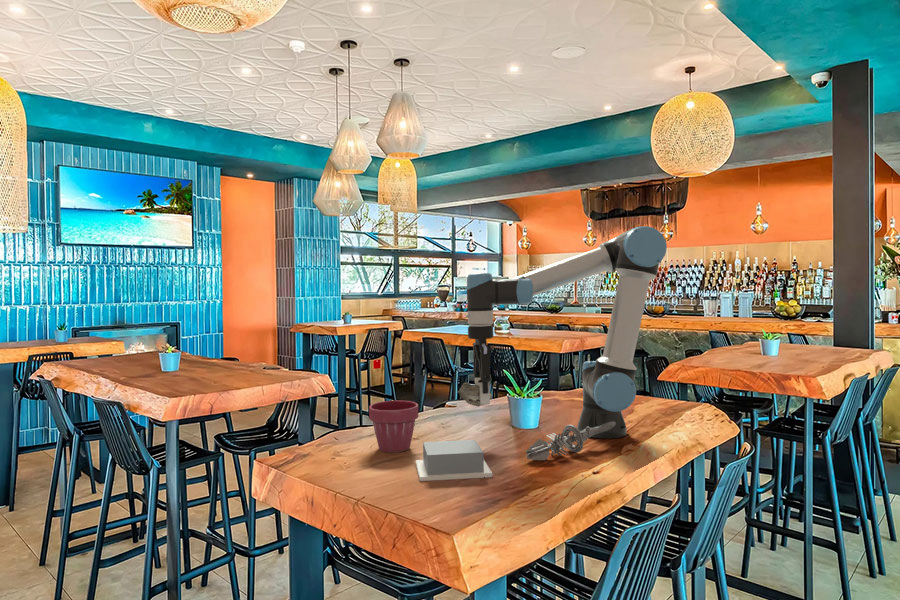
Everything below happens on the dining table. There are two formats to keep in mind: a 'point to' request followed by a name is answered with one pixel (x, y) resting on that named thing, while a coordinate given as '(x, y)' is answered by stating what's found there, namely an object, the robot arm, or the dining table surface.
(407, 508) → the dining table surface
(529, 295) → the robot arm
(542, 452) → the spaceship
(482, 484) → the dining table surface
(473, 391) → the rock sample
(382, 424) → the plant pot
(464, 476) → the plinth
